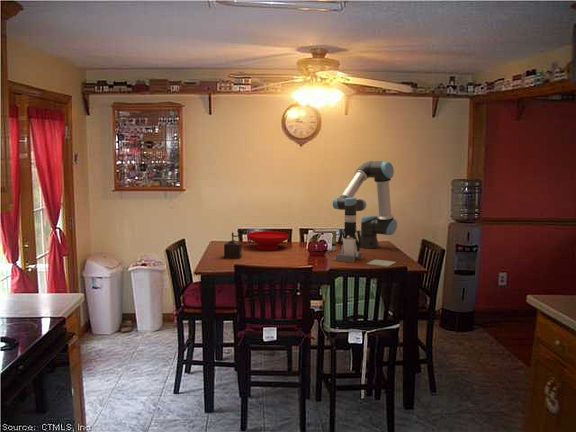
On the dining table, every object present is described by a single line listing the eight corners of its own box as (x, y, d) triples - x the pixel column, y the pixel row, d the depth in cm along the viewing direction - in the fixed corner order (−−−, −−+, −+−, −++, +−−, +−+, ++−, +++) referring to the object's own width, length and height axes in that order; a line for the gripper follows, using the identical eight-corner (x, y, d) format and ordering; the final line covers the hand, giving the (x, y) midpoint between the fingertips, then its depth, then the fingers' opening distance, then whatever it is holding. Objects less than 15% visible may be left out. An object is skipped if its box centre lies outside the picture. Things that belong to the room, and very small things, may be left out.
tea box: (316, 251, 369) (316, 231, 367) (311, 249, 379) (312, 229, 377) (336, 250, 373) (336, 230, 371) (331, 248, 383) (331, 228, 381)
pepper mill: (240, 259, 341) (240, 231, 339) (223, 258, 342) (223, 231, 340) (244, 254, 356) (243, 228, 354) (227, 254, 357) (227, 228, 355)
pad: (375, 260, 340) (375, 259, 340) (395, 262, 333) (395, 261, 333) (366, 264, 328) (366, 263, 328) (388, 266, 321) (388, 265, 321)
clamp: (343, 256, 353) (343, 250, 352) (362, 258, 346) (362, 252, 345) (333, 260, 339) (333, 254, 339) (352, 262, 332) (353, 256, 332)
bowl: (249, 244, 398) (249, 231, 397) (289, 244, 397) (289, 231, 396) (244, 251, 368) (244, 237, 367) (288, 252, 367) (288, 238, 366)
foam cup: (355, 256, 347) (356, 237, 345) (358, 259, 338) (358, 239, 336) (341, 256, 346) (341, 237, 345) (343, 259, 337) (343, 239, 336)
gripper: (332, 220, 341) (332, 254, 344) (363, 223, 330) (363, 258, 333) (337, 219, 348) (337, 252, 351) (368, 222, 337) (367, 256, 339)
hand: (349, 255), depth 342 cm, fingers closed on foam cup, 9 cm apart
